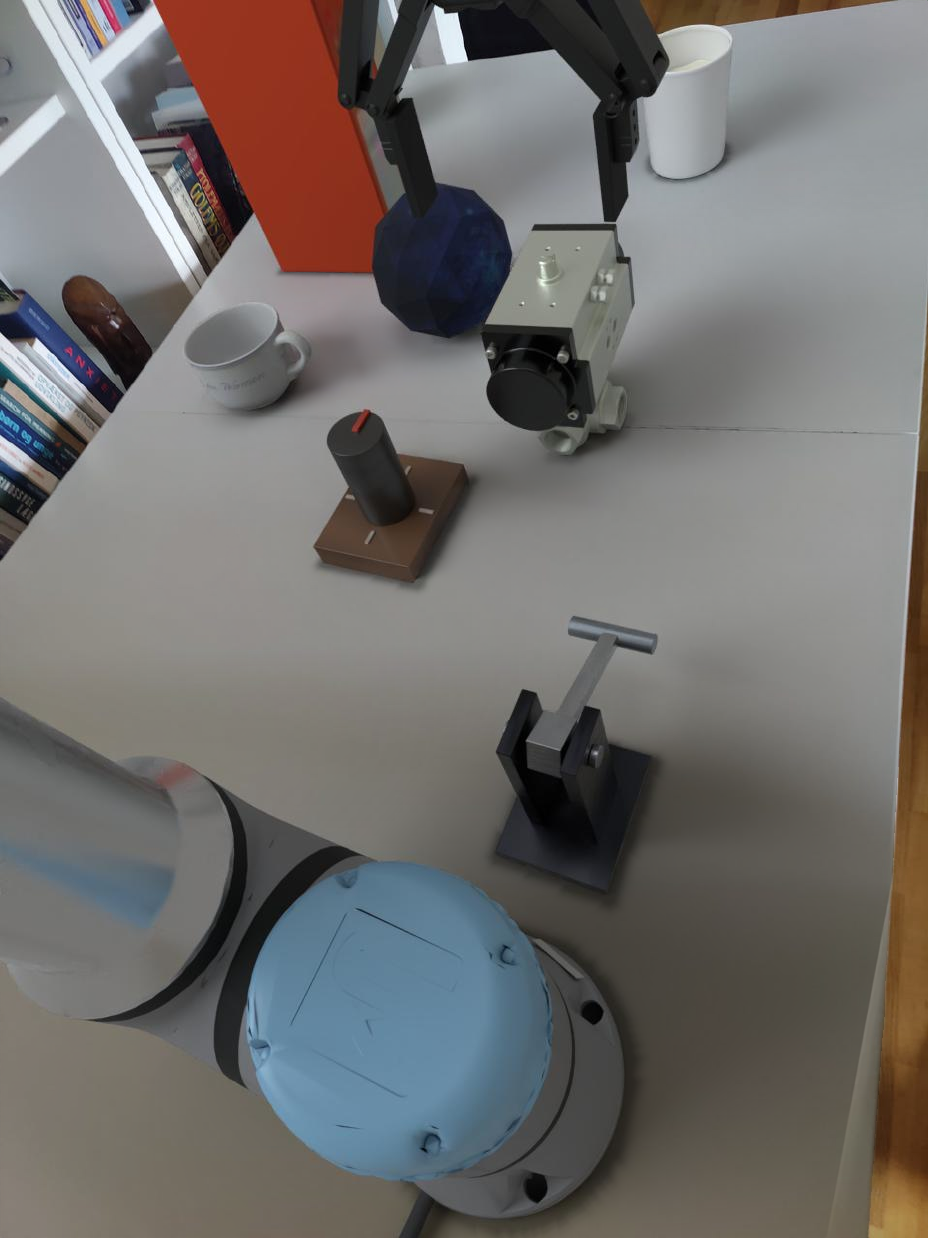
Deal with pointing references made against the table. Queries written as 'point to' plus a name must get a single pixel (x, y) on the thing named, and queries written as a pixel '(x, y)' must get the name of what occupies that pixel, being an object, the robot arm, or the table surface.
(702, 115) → the candle holder
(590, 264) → the ball valve
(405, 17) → the robot arm
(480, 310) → the decorative orb
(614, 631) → the tap lever
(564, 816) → the tap bracket
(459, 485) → the dial panel
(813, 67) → the table surface
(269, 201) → the file binder
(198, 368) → the teacup
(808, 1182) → the table surface
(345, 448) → the dial knob
